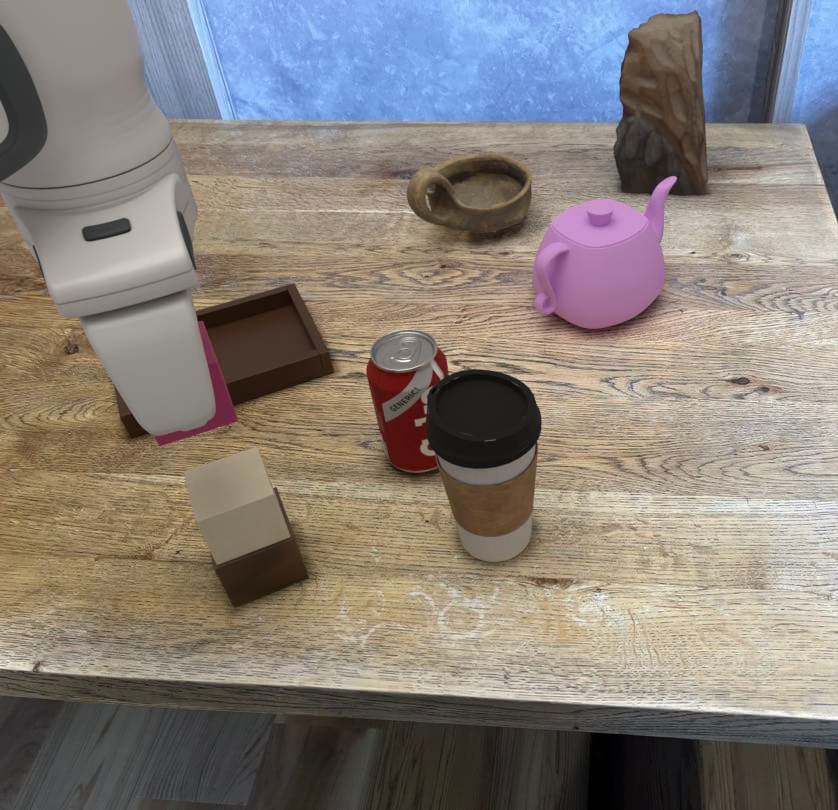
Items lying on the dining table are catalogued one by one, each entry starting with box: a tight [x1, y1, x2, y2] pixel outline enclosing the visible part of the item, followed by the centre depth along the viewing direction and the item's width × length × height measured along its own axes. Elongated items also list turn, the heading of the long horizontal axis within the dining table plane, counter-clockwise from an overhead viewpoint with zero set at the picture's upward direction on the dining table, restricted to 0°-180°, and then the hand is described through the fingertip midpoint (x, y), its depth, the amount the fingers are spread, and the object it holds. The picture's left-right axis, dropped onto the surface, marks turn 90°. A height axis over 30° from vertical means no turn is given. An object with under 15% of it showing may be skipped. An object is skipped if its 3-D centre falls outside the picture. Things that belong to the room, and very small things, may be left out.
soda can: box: [365, 328, 450, 474], centre depth 71 cm, size 7×7×12 cm
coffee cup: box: [425, 368, 543, 563], centre depth 63 cm, size 8×8×15 cm
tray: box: [113, 282, 335, 439], centre depth 85 cm, size 20×14×3 cm
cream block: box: [183, 446, 290, 565], centre depth 61 cm, size 6×6×5 cm
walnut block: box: [209, 486, 310, 609], centre depth 64 cm, size 6×6×5 cm
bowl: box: [406, 152, 533, 234], centre depth 101 cm, size 14×18×10 cm
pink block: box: [153, 321, 239, 447], centre depth 53 cm, size 5×5×5 cm
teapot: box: [531, 176, 677, 330], centre depth 88 cm, size 20×13×12 cm, turn 130°
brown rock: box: [612, 9, 709, 196], centre depth 107 cm, size 13×13×20 cm
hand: (185, 393), depth 53 cm, fingers closed on pink block, 5 cm apart
